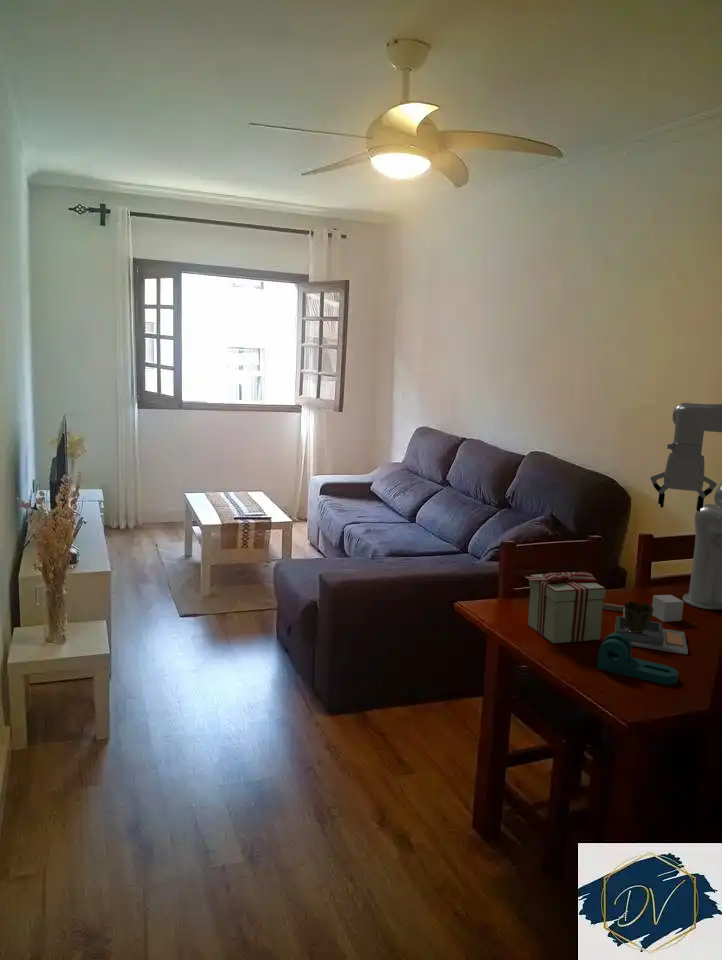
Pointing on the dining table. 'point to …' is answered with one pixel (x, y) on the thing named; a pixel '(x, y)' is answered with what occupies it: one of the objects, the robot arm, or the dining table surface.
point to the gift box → (566, 606)
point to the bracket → (631, 662)
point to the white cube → (667, 608)
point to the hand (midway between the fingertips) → (679, 508)
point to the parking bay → (614, 608)
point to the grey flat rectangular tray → (654, 637)
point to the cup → (637, 616)
